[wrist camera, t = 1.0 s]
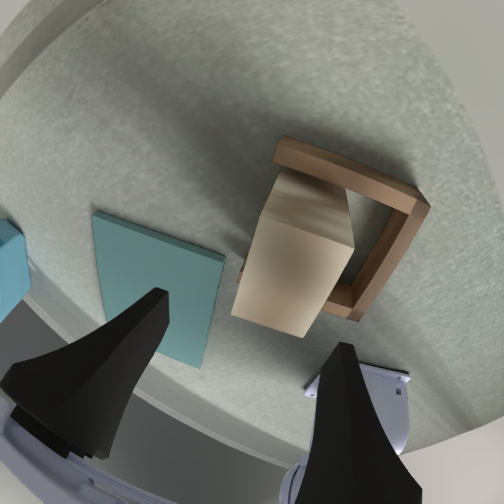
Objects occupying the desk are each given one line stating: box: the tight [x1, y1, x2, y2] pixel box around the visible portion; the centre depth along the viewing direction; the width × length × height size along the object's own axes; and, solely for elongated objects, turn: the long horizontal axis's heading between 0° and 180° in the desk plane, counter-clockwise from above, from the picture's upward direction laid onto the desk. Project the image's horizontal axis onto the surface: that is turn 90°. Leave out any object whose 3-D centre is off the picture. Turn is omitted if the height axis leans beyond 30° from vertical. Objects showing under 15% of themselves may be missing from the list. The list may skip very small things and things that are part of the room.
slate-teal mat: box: [92, 211, 226, 369], centre depth 26 cm, size 12×16×1 cm
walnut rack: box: [237, 136, 431, 322], centre depth 17 cm, size 9×10×2 cm
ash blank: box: [231, 166, 355, 338], centre depth 16 cm, size 4×6×7 cm, turn 167°
